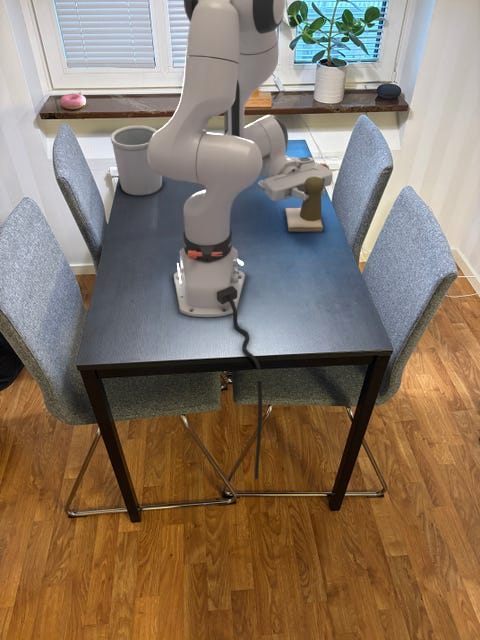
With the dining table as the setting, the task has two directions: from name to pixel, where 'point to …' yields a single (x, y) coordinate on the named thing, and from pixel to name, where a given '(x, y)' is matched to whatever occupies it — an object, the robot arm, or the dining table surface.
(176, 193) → the dining table surface
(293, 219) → the serving board
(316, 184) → the olive brown pawn
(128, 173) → the utensil holder
